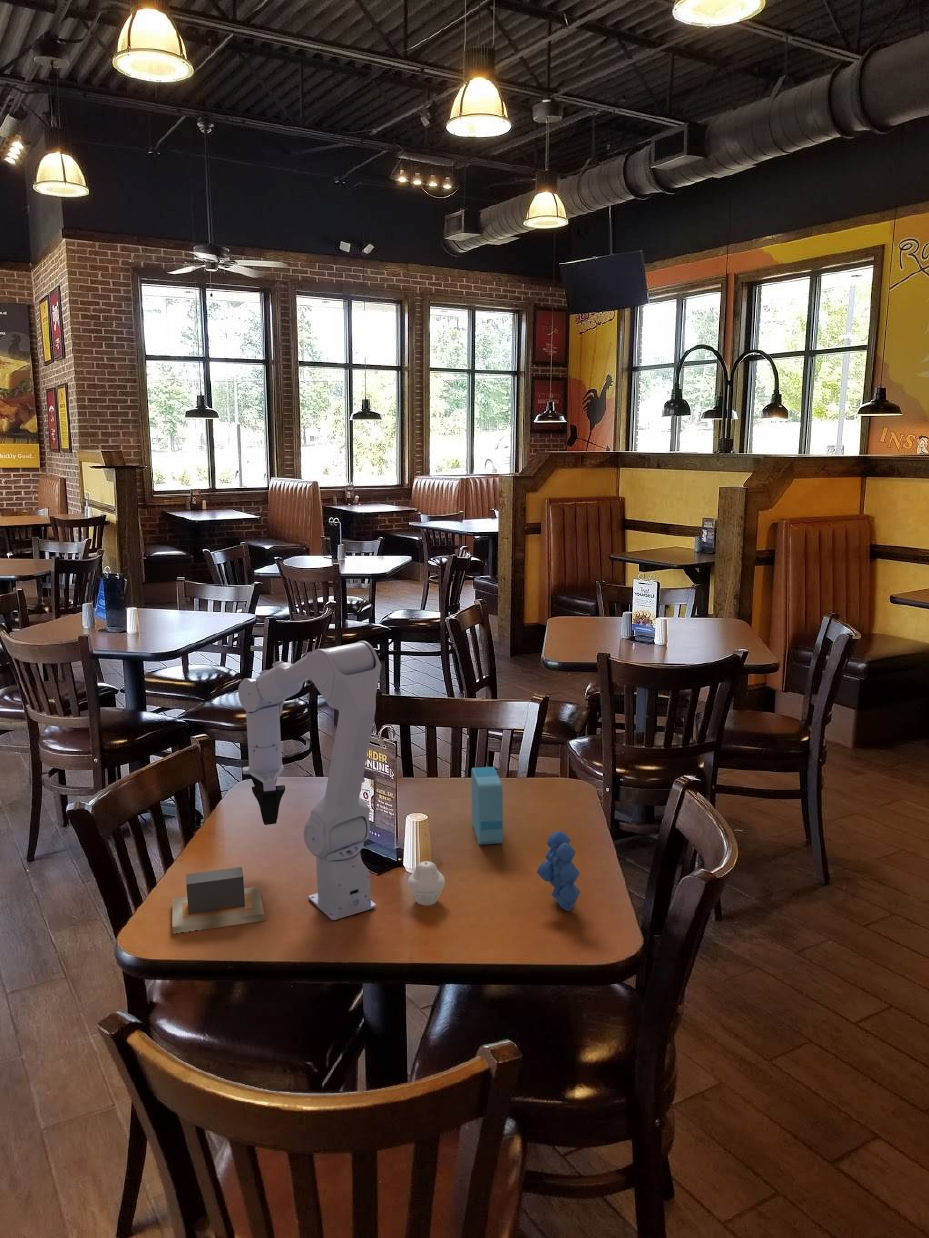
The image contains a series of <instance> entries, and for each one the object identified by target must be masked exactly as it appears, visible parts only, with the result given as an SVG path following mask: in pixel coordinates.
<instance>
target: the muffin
mask: <svg viewBox="0 0 929 1238" xmlns="http://www.w3.org/2000/svg"><path fill="white" fill-rule="evenodd" d="M414 869H415V870H414V872H412V874H411V875H410V876H409V878H408V879H407V885H408V887H409V891H410V893H411V894H412V895H413V898H414V899H415V901H416V902H417V904H418V905H421V906H424V907H425V906H426V907H427V906H432V905H435V904H436V903H437V901H438V900H439V897H440V896H441V894H442V892H443V890H444V886H445V885H446V884H445V883H446V880H445V877H444V875H443V874H442V873H441V872H440V870H438V867H437V865H436V864H435V862H432V861H426V860H425V861H421V862H419V863H417V865H416V866H415V867H414Z"/></svg>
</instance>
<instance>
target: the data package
mask: <svg viewBox="0 0 929 1238" xmlns="http://www.w3.org/2000/svg"><path fill="white" fill-rule="evenodd" d="M470 772H471V774H470V775H471V776H470V777H471V781H470V783H471V788H470V789H471V824H472V826H473V830H474V833H475V834H474V835H475V837H476V839H477V843H478V845H494V844H503V841H504V825H503V824H504V822H503V821H504V818H503V817H504V816H503V815H504V814H503V813H504V812H503V811H504V808H503V807H504V805H503V801H504V798H503V797H504V795H503V794H504V792H503V790H504V789H503V785H502V784H503V783H502V781H501V779H500V777H499V775H498V772H497V770H496V768H495V766H483V767H481V766H480V767H472V768H471V770H470Z"/></svg>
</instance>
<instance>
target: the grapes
mask: <svg viewBox="0 0 929 1238" xmlns="http://www.w3.org/2000/svg"><path fill="white" fill-rule="evenodd" d="M570 841H571V839H570V837H569V836H568V835H567V834H566V833H565V832H564V831H562V830H557V831H556V832H552V833H551V834H550V836H549V837H548V839H547V841H546V845H547V847H548V848H549V849H548V850H547V852H546V854H545V856H544V858H545V859H546V860H544V861H542V862H541V863H540V865H539V866H538V869H537V871H536V873H537V874H538V876H539V877H540V879H542V880H543V881H545V882H549V883H550V884H551V885H552V887H553V890H552V893H551V896H552V897H553V898H554V899H555V901H556V902H557V904H558V905H559V906H560V907H561V908H562V909H563V910H564V911H571V910H572V909H573V908H574V906H575V904H576V903H577V901H578V900H577V899H578V897H579V895H580V893H581V890H580V889H579V888H578V887H577V885H576V884H575V882H576V881H577V880H578V878H579V875H580V873H581V872H580V870H578V868H577V866H576V865H575V864H574V863H573V862H572V861H573V860H574V858H575V856H576V853H577V852H576V850H575V849H574V847H573V846H572V845H571V844H570Z"/></svg>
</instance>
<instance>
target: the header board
mask: <svg viewBox="0 0 929 1238" xmlns="http://www.w3.org/2000/svg"><path fill="white" fill-rule="evenodd" d="M244 896H245V907H240V908H233V909H226V910H219V911H212V912H205V913H198V914H191V915H188V900H187V895H186V896H180V897H174V898H173V897H172V907H171V908H172V910H171V911H172V912H171V913H172V915H171V916H172V917H171V919H172V921H171V922H172V923H171V925H172V926H171V929H172V935H177V934H176V933H178V934H181V933H180V932H184V933H190V932H189V931H191V932H196V931H195V930H198V931H203V929H204V931H205V930H210V929H211V930H212V929H216V928H224V927H230V926H231V927H232V926H237V925H238V926H239V925H244V924H251V923H257V922H264V921H265V912H264V907H263V902H262V896H261V891H260V886H252V887H247V888H246V887H244Z"/></svg>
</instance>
